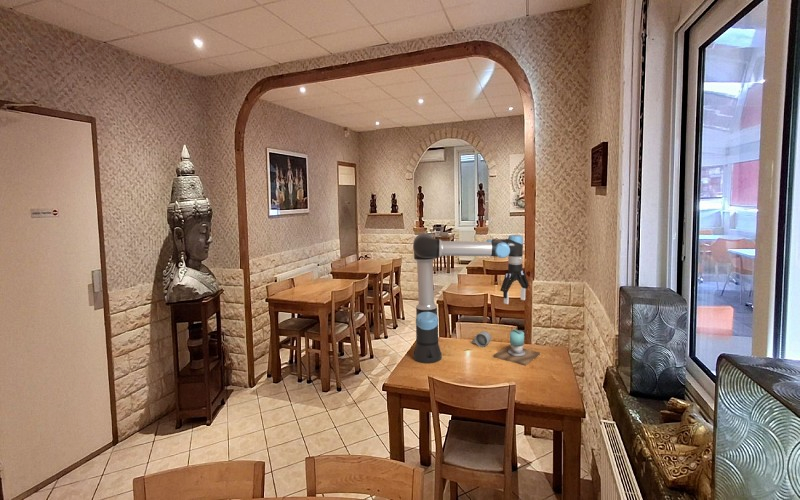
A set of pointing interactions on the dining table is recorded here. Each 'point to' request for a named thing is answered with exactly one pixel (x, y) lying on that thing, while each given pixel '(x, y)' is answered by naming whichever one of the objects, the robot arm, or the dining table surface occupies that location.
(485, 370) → the dining table surface
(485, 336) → the ceramic mug
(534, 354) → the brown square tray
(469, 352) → the dining table surface
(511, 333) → the turquoise round jar
